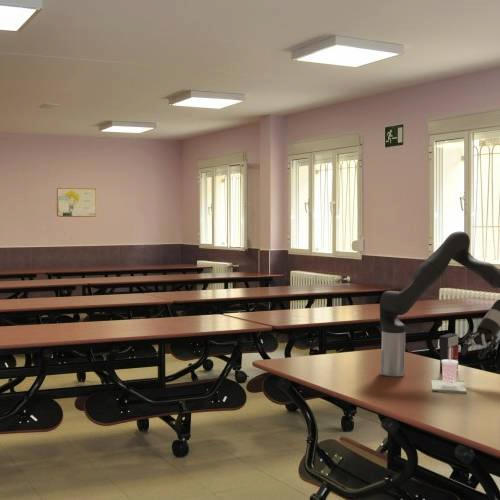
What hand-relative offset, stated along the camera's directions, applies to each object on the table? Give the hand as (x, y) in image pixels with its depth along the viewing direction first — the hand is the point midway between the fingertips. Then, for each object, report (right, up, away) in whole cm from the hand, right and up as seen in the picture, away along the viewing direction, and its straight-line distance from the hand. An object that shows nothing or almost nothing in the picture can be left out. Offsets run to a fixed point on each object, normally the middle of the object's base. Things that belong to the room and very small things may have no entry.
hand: (470, 355), depth 276 cm
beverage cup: (-10, -10, -5) cm, 15 cm away
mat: (-10, -11, -6) cm, 16 cm away
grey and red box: (-3, -10, +21) cm, 23 cm away
